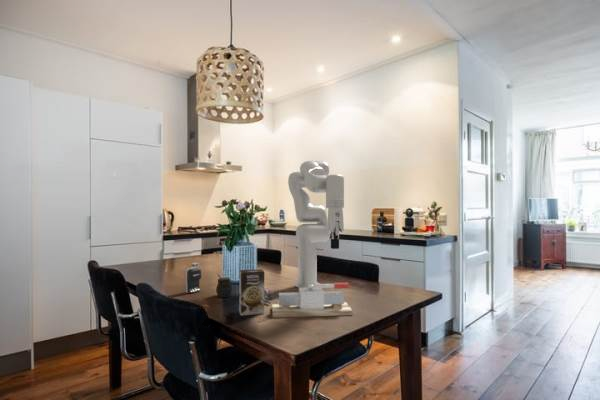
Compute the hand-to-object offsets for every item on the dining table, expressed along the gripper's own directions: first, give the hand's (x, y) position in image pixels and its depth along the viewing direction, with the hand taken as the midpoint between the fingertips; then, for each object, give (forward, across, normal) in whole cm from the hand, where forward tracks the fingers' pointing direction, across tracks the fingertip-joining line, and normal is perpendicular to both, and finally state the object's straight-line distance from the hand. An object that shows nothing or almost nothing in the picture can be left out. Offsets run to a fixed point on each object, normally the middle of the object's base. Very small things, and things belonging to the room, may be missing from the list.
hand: (334, 248), depth 146 cm
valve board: (+23, -9, +11) cm, 27 cm away
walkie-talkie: (+24, +12, +29) cm, 40 cm away
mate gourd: (+24, +19, +48) cm, 57 cm away
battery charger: (+24, +28, +62) cm, 72 cm away
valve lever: (+14, -9, +5) cm, 17 cm away
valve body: (+22, -9, +11) cm, 26 cm away
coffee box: (+23, -7, +34) cm, 42 cm away
